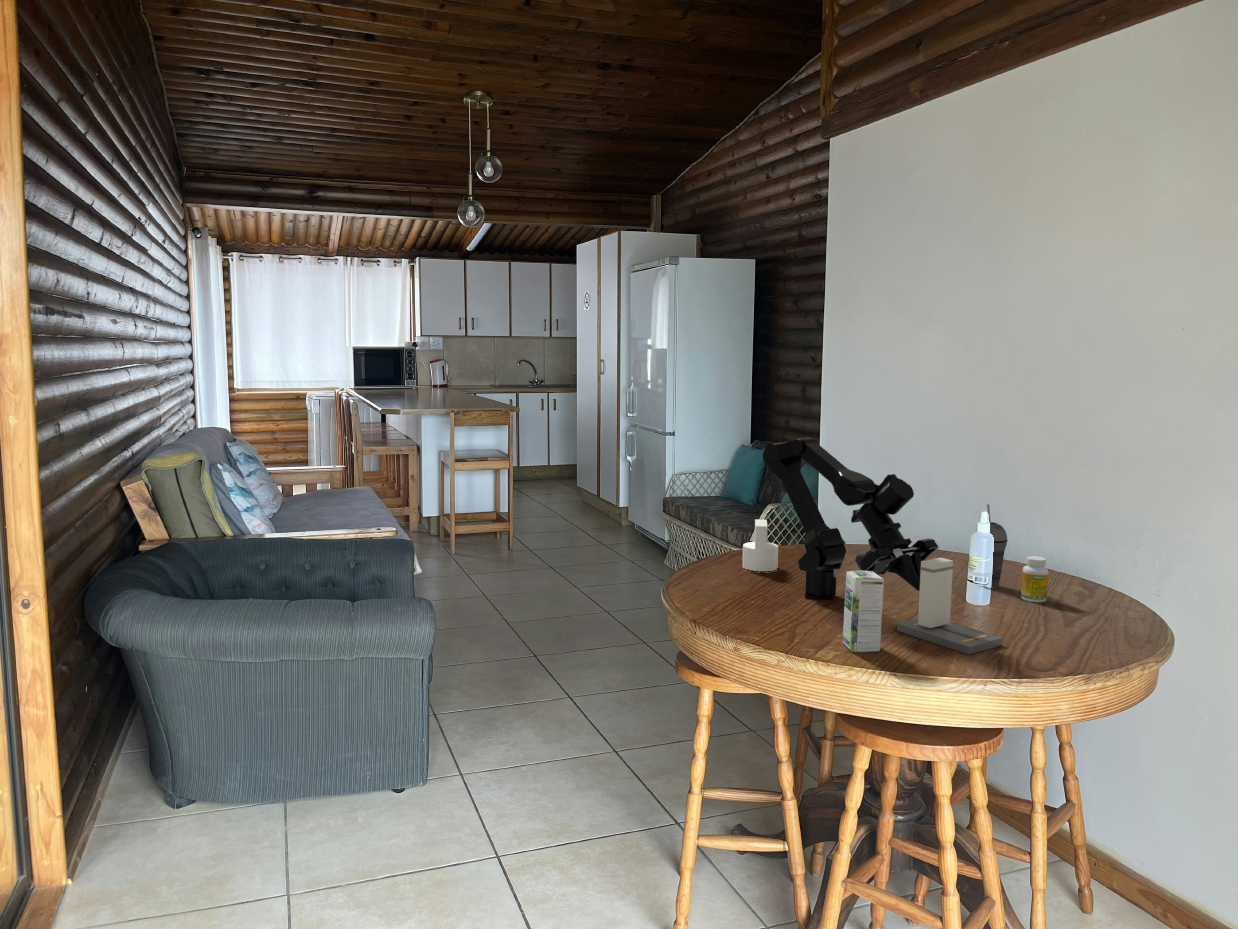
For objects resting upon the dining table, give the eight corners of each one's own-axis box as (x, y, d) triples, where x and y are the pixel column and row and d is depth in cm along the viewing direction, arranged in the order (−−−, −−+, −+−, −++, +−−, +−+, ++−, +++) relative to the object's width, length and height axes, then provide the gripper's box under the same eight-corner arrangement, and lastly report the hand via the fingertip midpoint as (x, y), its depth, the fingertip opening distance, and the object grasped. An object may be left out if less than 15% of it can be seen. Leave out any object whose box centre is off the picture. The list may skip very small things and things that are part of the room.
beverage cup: (1007, 590, 215) (1013, 507, 212) (975, 589, 216) (980, 506, 213) (1001, 582, 222) (1006, 502, 219) (969, 581, 223) (974, 501, 220)
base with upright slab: (742, 563, 240) (743, 518, 239) (777, 564, 239) (778, 520, 238) (742, 571, 232) (743, 525, 230) (778, 573, 230) (779, 526, 229)
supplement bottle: (1030, 603, 204) (1033, 561, 203) (1015, 596, 210) (1018, 555, 208) (1051, 602, 205) (1054, 560, 204) (1036, 595, 211) (1039, 554, 209)
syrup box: (841, 643, 177) (844, 570, 175) (871, 642, 177) (874, 570, 175) (851, 653, 171) (854, 578, 169) (881, 652, 172) (885, 577, 170)
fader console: (897, 630, 185) (897, 623, 184) (929, 622, 190) (929, 615, 190) (968, 654, 170) (969, 646, 170) (1001, 645, 176) (1002, 637, 176)
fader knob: (917, 624, 183) (920, 561, 181) (937, 619, 186) (940, 557, 184) (930, 628, 180) (933, 564, 178) (950, 623, 183) (953, 560, 181)
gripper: (888, 543, 203) (926, 603, 196) (829, 554, 193) (866, 617, 186) (918, 514, 196) (959, 575, 188) (858, 523, 186) (899, 588, 178)
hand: (921, 589), depth 185 cm, fingers closed
